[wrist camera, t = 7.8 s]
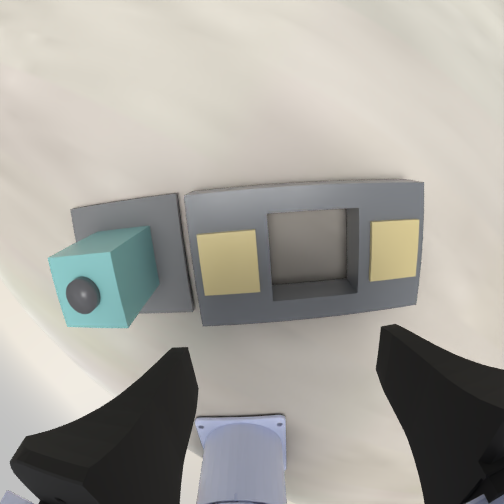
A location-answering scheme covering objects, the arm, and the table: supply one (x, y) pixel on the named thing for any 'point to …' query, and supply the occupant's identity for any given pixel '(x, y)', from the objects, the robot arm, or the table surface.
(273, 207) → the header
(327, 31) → the table surface
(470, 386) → the robot arm
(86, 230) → the mat
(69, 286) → the plug
